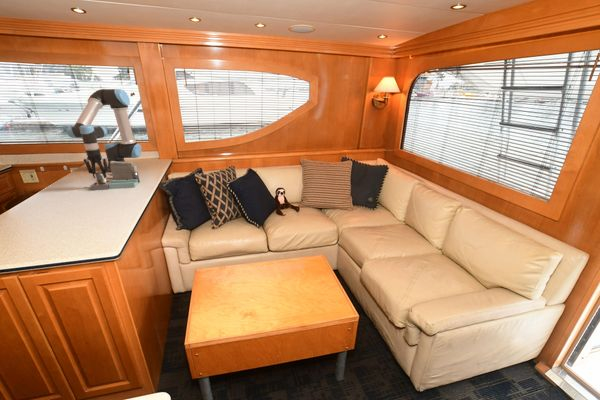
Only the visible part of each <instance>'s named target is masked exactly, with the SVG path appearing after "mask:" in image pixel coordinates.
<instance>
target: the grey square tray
mask: <svg viewBox="0 0 600 400" xmlns="http://www.w3.org/2000/svg"><path fill="white" fill-rule="evenodd" d="M112 181H114V179H111V180H106V182H108V183H107V184H103V185H96V184H97V183H96V181H95V182H94V183H92V184H91V185H90V188H91V191H103V190H106V191H107V190H110V188H109V185H108V184H111V183H112Z"/></svg>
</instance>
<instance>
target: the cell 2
mask: <svg viewBox="0 0 600 400" xmlns="http://www.w3.org/2000/svg"><path fill="white" fill-rule="evenodd" d="M137 171H138V170H137ZM137 171H133V172H131V173H132V177H133V179H137V181H138V184H139V183H140V182H141V180H140V177H139V172H137Z"/></svg>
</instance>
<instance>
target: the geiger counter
mask: <svg viewBox="0 0 600 400" xmlns="http://www.w3.org/2000/svg"><path fill="white" fill-rule="evenodd" d="M110 164H111V165H110V168H111V172H110V174H109V173H108V172H106V174H107V175H108V176H112V180H126V179H128V180H133V177H132V173H131V172H133V171H137V172H138V167H137V164H136V165H135V163H134V162H132V161H125V162H116V161H111V162H110ZM108 170H109V169H108ZM138 173H139V172H138Z"/></svg>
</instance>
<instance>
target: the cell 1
mask: <svg viewBox="0 0 600 400" xmlns="http://www.w3.org/2000/svg"><path fill="white" fill-rule="evenodd" d="M101 174H102V171H98V172H97V171H96V177H97V180H98V184H99V185H103V184H105V183H104V182H103V178H102V175H101Z"/></svg>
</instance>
